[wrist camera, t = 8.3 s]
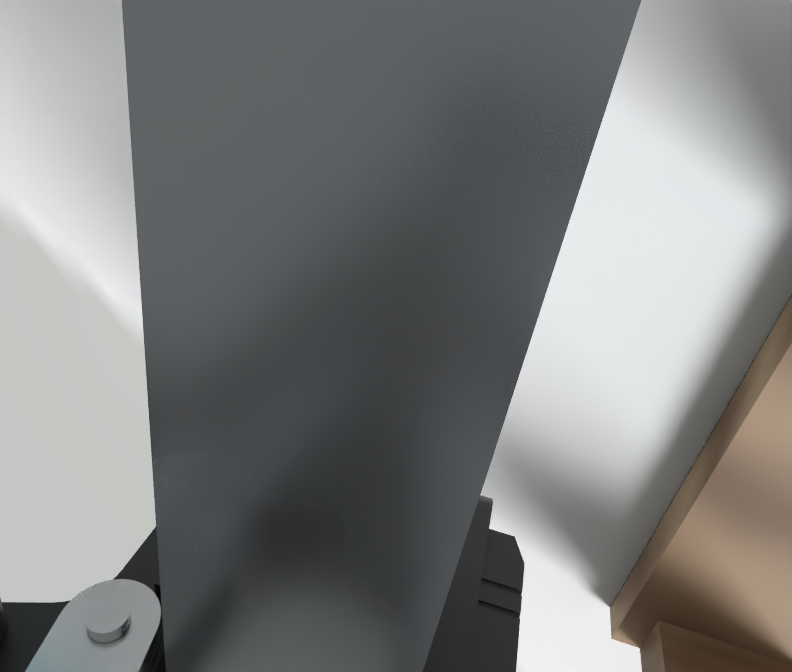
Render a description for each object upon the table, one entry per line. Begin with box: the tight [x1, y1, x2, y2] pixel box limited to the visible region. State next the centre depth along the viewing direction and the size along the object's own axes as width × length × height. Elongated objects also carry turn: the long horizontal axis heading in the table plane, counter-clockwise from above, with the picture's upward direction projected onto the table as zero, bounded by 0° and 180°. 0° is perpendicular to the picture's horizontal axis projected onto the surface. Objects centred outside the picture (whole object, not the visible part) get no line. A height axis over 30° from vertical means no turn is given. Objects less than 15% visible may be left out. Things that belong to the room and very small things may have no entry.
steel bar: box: [122, 0, 641, 672], centre depth 9 cm, size 20×3×3 cm, turn 170°
